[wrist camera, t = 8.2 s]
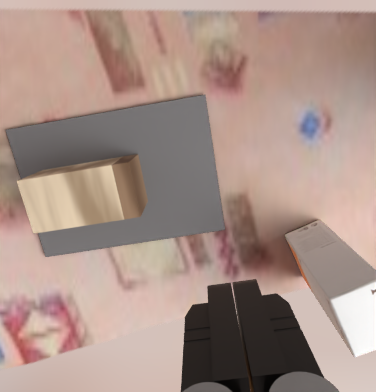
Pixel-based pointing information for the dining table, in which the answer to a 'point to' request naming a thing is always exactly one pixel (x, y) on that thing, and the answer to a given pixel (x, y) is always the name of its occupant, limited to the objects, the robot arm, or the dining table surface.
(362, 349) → the skincare box
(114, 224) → the mat
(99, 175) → the birch block
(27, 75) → the dining table surface
